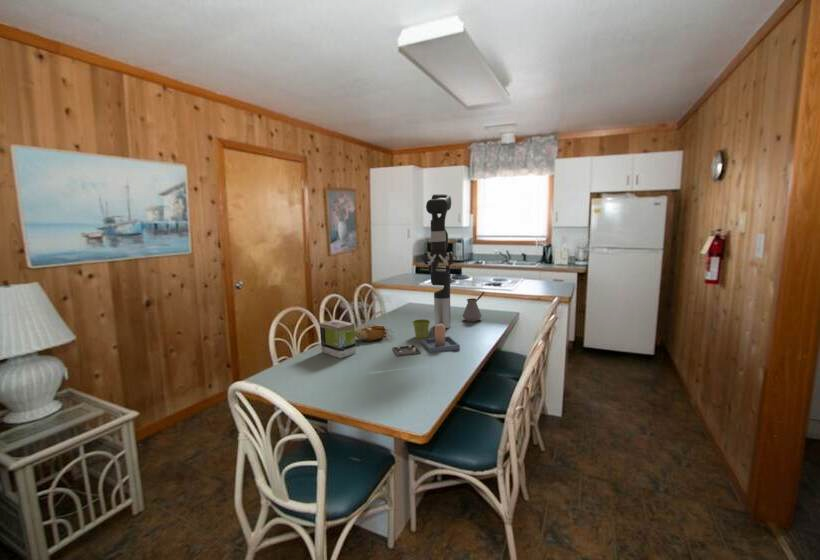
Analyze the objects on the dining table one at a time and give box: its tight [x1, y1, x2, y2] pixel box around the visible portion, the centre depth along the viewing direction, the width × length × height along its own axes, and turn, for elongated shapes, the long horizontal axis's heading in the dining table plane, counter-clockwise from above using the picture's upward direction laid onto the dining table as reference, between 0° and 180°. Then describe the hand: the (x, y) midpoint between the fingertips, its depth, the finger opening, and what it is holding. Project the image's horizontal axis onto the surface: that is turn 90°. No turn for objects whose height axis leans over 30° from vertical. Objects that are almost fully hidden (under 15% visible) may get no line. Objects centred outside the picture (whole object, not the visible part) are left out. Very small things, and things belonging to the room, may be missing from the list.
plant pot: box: [412, 318, 431, 339], centre depth 208 cm, size 9×9×9 cm
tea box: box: [319, 319, 357, 359], centre depth 188 cm, size 15×10×15 cm
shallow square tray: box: [421, 335, 461, 353], centre depth 193 cm, size 15×15×2 cm
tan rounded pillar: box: [434, 323, 446, 347], centre depth 192 cm, size 5×5×11 cm
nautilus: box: [355, 323, 396, 342], centre depth 206 cm, size 8×22×15 cm
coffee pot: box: [462, 291, 487, 323], centre depth 242 cm, size 21×12×15 cm, turn 141°
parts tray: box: [392, 344, 421, 357], centre depth 187 cm, size 11×11×2 cm
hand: (439, 272), depth 197 cm, fingers open, 8 cm apart
